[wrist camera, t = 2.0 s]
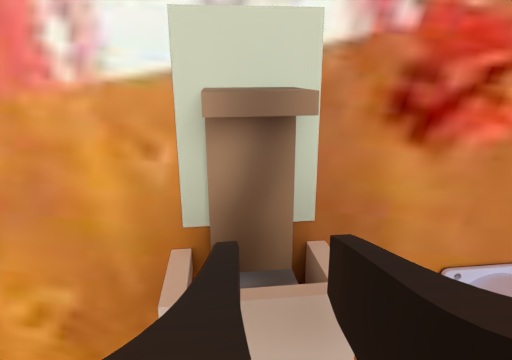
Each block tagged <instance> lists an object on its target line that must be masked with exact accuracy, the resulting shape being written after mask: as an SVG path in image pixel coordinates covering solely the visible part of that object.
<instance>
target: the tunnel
mask: <svg viewBox="0 0 512 360" xmlns="http://www.w3.org/2000/svg"><path fill="white" fill-rule="evenodd" d="M329 253H330V247H329V246H328V244H327V243H326V241H325V240H324V241H307V244H306V269H305V284H298V285H284V286H270V287H257V288H243V289H240V306H241V313H242V319H243V324H244V329H245V334H246V339H247V343H248V348H249V352H250V356H251V360H354V353H353V351H352V349H351V347H350V345H349V343H348V342H347V340H346V338H345V336H344V334H343V332H342V330H341V328H340V326H339V324H338V322H337V320H336V317H335V314H334V312H333V309H332V306H331V303H330V300H329V297H328V295H327V286H328V269H329ZM192 277H193V263H192V248H189V249H172V250H171V254H170V258H169V262H168V267H167V271H166V275H165V279H164V284H163V288H162V292H161V296H160V301H159V305H158V314H159V318H160V317H161V316H162V315H163V314H164V313H165V312H166V311H167V310H168V309H169V308H170V307H171V306H172V305H173V304H174V303H175V302H176V301H177V300H178V299H179V298H180V296H181V295H182V294H183V293H184V292H185V290H186V289H187V288H188V287H189V285H190V284H191V283H192Z"/></svg>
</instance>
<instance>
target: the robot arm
mask: <svg viewBox="0 0 512 360" xmlns="http://www.w3.org/2000/svg"><path fill="white" fill-rule="evenodd" d="M456 274H457V275H456ZM455 275H456V276H455ZM454 276H455V277H454ZM327 295H328V297H329V300H330V303H331V306H332V309H333V312H334V314H335V317H336V320H337V322H338V324H339V326H340V328H341V330H342V332H343V334H344V336H345V338H346V340H347V342H348V343H349V345H350V347H351V349H352V351H353V353H354V355H355V357H356V359H357V360H512V264H500V265H486V266H472V267H458V268H447V269H445V270H443V271H442V273H441V274H439V273H436V272H434V271H432V270H429V269H427V268H424V267H422V266H420V265H417V264H415V263H413V262H411V261H408V260H406V259H404V258H402V257H400V256H397V255H395V254H393V253H391V252H389V251H387V250H385V249H383V248H381V247H379V246H376V245H374V244H372V243H370V242H368V241H366V240H363V239H361V238H359V237H356V236H353V235H350V234H348V235H331V237H330V253H329V269H328V286H327ZM102 360H251V356H250V352H249V348H248V343H247V339H246V334H245V329H244V324H243V319H242V313H241V306H240V257H239V245H238V242H237V241H227V242H216V243H215V244H214V245H213V247H212V250H211V252H210V254H209V256H208V258H207V260H206V262H205V263H204V265H203V267H202V268H201V270H200V271H199V273H198V274H197V276H196V277H195V279H194V280H193V281H192V283H191V284H190V285H189V287H188V288H187V289H186V290H185V292H184V293H183V294H182V295H181V296H180V298H179V299H178V300H177V301H176V302H175V303H174V304H173V305H172V306H171V307H170V308H169V309H168V310H167V311H166V312H165V313H164V314H163V315H162V316H161V317H160V318H159V319H158V320H156V321H155V322H154V323H153V324H152V325H150V326H149V327H148V328H147V329H146V330H144V331H143V332H142V333H141V334H139V335H138V336H137V337H135V338H134V339H133V340H131V341H130V342H128V343H127V344H125V345H124V346H123V347H121V348H120V349H118V350H116V351H115V352H113V353H112V354H110V355H109V356H107V357H106V358H104V359H102Z"/></svg>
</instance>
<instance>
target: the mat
mask: <svg viewBox="0 0 512 360" xmlns="http://www.w3.org/2000/svg"><path fill="white" fill-rule="evenodd" d="M167 5H168V19H169V33H170V48H171V62H172V76H173V91H174V105H175V119H176V134H177V148H178V162H179V177H180V191H181V205H182V220H183V227H202V226H210V220H209V198H208V176H207V155H206V133H205V117H203V118H202V103H201V91H202V90H203V88H232V87H297V88H304V89H311V90H318V91H319V112H318V115H313V116H296V143H295V179H294V216H293V222H297V221H315V202H316V180H317V158H318V137H319V115H320V94H321V72H322V51H323V29H324V7H288V6H230V5H172V4H167Z"/></svg>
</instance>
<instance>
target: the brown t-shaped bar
mask: <svg viewBox="0 0 512 360" xmlns="http://www.w3.org/2000/svg"><path fill="white" fill-rule="evenodd" d="M201 103H202V118H203V117H205V133H206V155H207V176H208V198H209V220H210V241H211V250H212V247H213V245H214V244H215V243H216V242H227V241H237V242H238V245H239V257H240V289H243V288H257V287H270V286H284V285H298V282H297V280H296V277H295V275H294V272H293V270H292V252H293V216H294V179H295V143H296V116H313V115H318V112H319V91H318V90H311V89H304V88H297V87H232V88H203V90H202V91H201Z"/></svg>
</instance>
